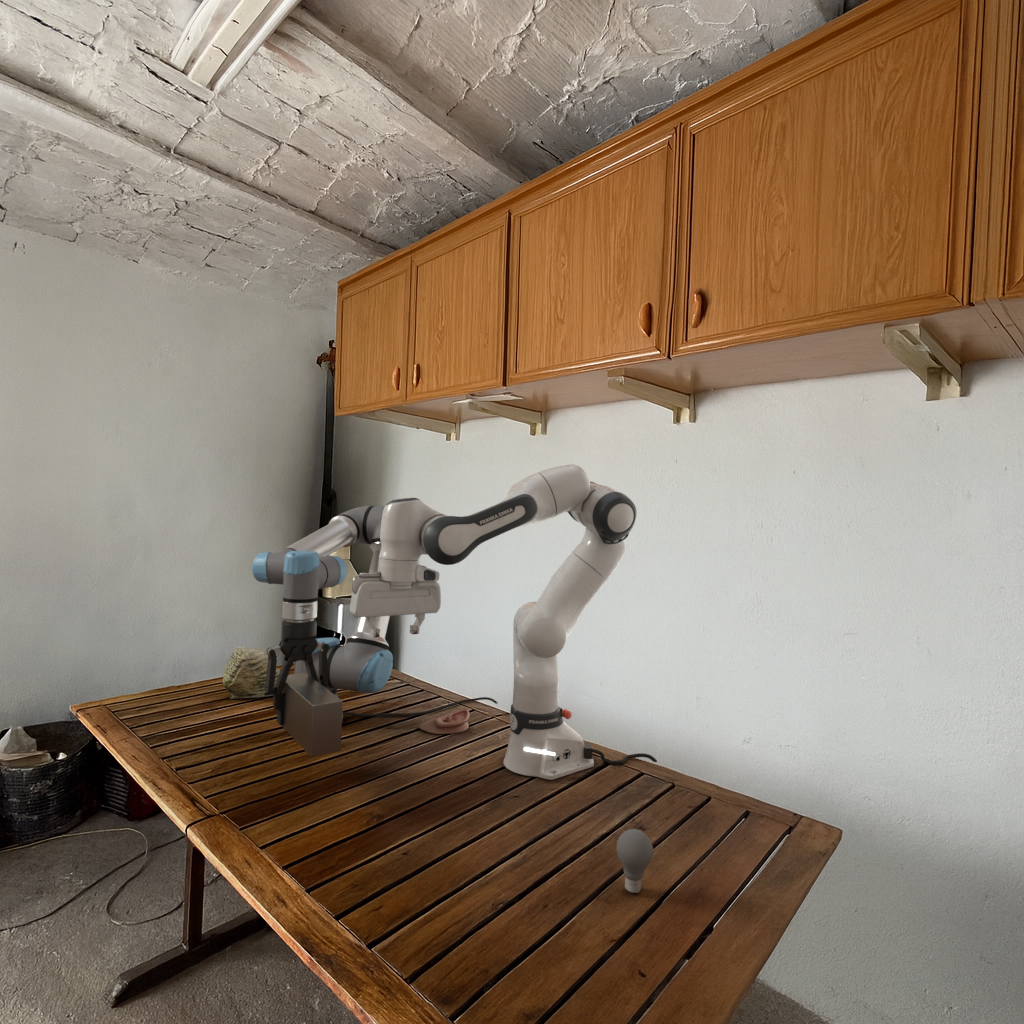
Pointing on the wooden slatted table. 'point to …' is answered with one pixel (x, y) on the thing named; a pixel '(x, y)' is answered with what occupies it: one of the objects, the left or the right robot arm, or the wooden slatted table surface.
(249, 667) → the fossil
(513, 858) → the wooden slatted table surface
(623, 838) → the light bulb
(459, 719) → the anatomical model
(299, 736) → the box
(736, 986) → the wooden slatted table surface
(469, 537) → the right robot arm
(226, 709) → the wooden slatted table surface
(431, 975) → the wooden slatted table surface
